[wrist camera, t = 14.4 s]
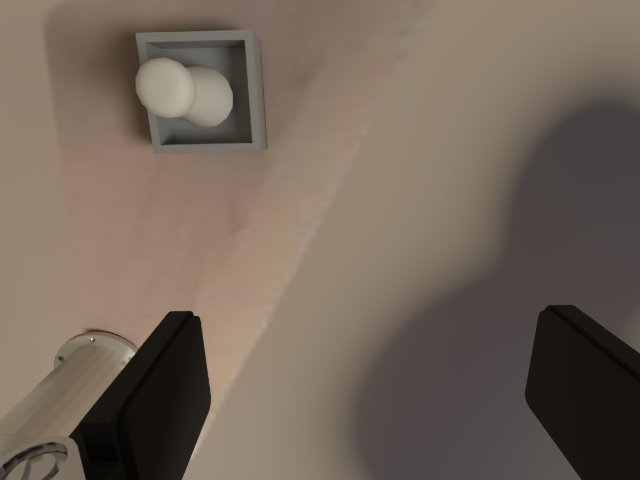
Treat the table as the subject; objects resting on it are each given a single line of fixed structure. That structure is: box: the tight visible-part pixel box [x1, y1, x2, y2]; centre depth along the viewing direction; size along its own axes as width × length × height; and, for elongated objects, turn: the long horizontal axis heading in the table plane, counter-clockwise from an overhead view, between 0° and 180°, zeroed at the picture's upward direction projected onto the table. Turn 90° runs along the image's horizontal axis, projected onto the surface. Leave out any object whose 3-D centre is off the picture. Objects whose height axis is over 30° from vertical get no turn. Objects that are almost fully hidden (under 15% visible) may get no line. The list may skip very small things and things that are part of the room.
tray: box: [135, 30, 267, 153], centre depth 38 cm, size 11×11×4 cm
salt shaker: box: [135, 57, 233, 127], centre depth 33 cm, size 6×6×13 cm
